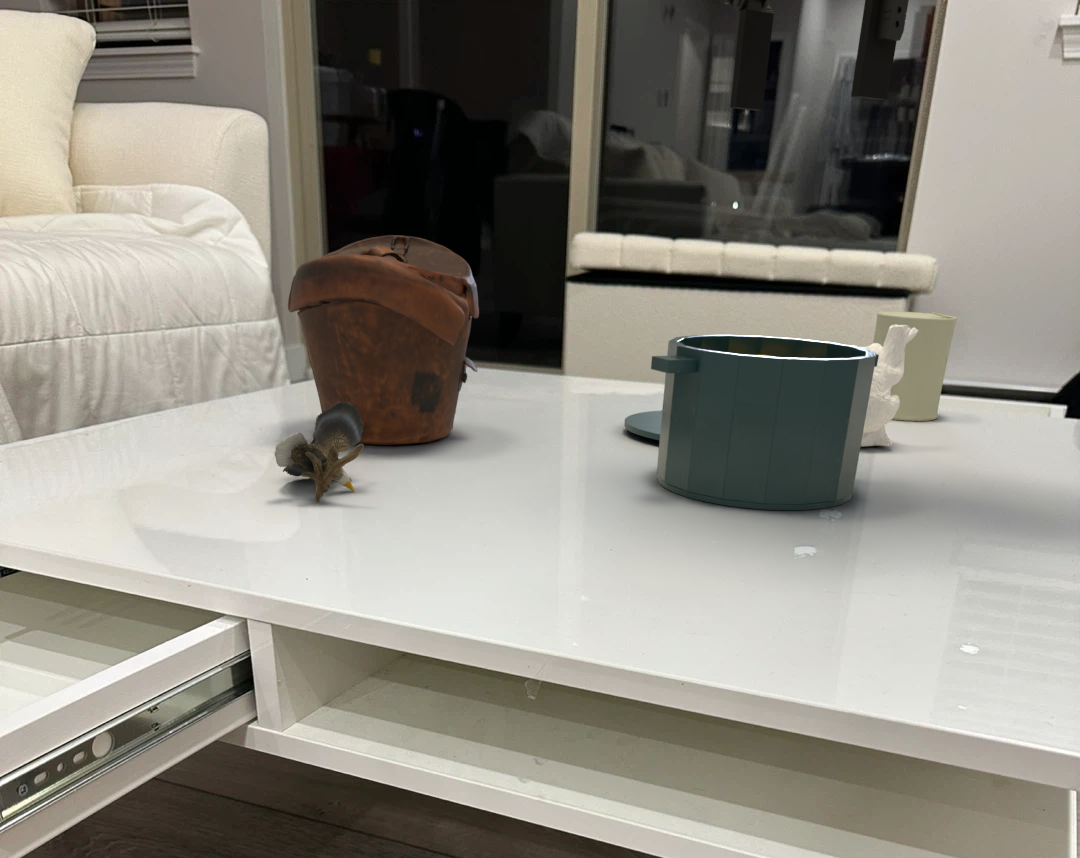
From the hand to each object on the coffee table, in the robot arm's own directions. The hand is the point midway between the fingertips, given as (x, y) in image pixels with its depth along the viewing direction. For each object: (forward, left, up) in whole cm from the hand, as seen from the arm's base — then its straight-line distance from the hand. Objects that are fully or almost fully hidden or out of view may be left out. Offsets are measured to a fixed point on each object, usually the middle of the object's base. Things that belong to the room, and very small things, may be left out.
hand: (803, 104), depth 79 cm
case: (+30, +22, -29) cm, 47 cm away
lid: (+20, -10, -28) cm, 36 cm away
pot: (0, 0, -29) cm, 29 cm away
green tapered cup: (+25, -43, -29) cm, 58 cm away
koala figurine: (+11, -24, -29) cm, 39 cm away
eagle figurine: (+10, +35, -29) cm, 46 cm away
